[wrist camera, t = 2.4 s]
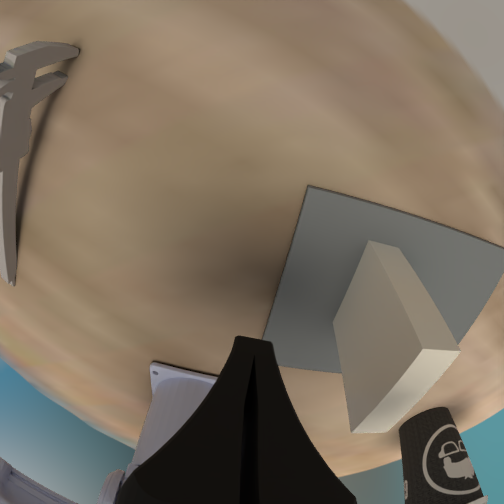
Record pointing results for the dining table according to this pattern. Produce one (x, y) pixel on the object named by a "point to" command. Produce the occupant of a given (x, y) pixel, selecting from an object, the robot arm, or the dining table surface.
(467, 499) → the coffee cup
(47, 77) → the caliper
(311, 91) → the dining table surface
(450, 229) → the mat
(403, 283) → the tile
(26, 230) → the dining table surface
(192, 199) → the dining table surface
